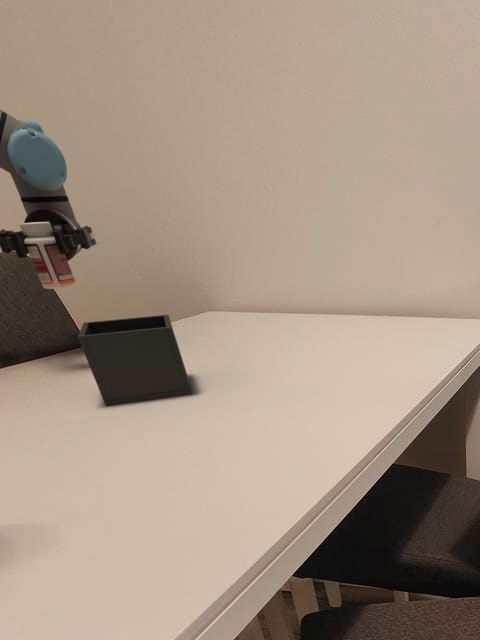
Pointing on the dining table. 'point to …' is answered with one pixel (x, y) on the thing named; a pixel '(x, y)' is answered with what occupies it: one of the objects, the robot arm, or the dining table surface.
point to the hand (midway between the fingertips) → (38, 244)
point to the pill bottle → (47, 256)
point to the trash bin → (134, 359)
